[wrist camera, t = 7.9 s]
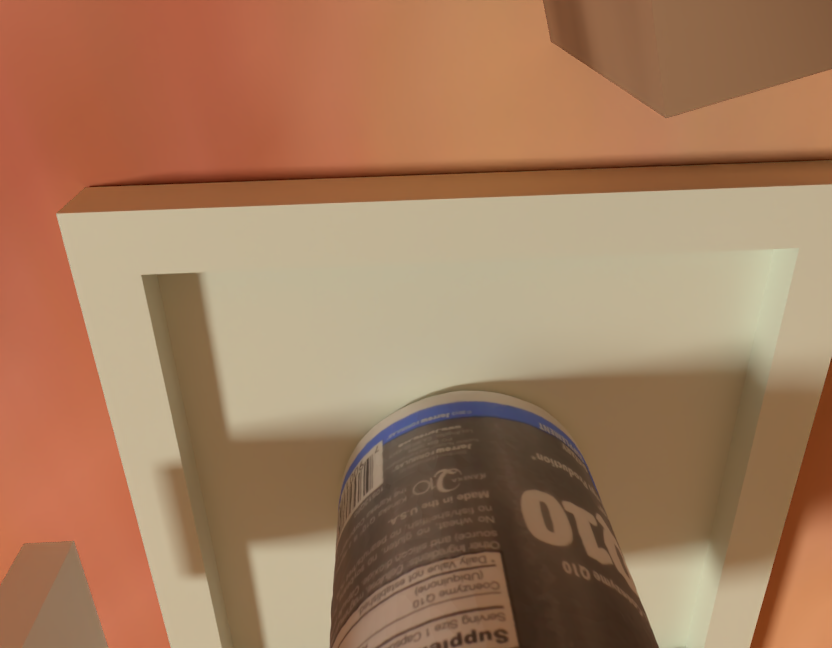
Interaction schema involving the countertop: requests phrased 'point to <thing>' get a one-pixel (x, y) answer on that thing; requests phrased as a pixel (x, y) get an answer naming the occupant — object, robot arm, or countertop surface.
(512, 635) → the pill bottle
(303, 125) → the countertop surface
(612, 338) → the tray
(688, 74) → the walnut cube
